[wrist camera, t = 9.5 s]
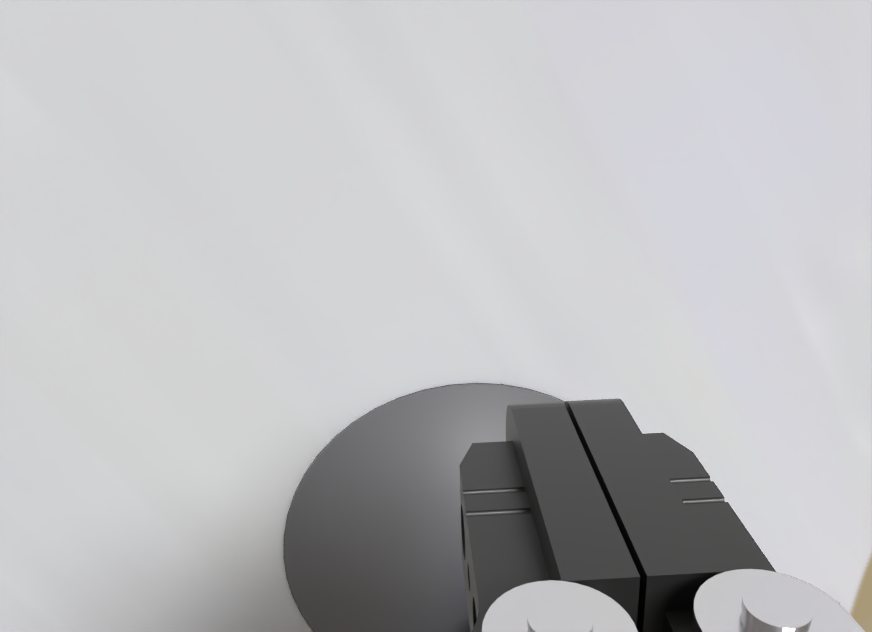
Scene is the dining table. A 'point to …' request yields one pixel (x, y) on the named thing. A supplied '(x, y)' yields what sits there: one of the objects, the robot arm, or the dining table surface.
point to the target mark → (392, 513)
